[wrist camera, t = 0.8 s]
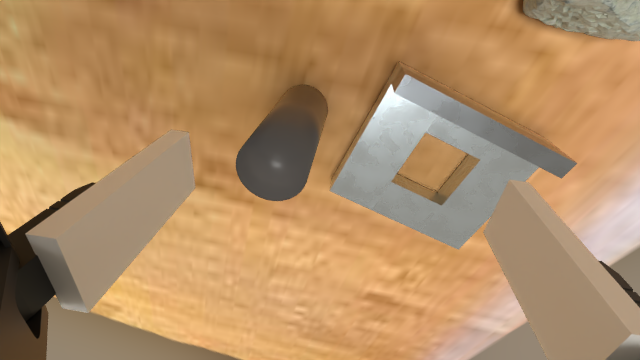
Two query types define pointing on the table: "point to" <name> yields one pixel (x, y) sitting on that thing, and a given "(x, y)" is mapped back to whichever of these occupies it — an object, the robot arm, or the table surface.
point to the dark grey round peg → (283, 145)
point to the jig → (453, 128)
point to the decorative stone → (589, 16)
